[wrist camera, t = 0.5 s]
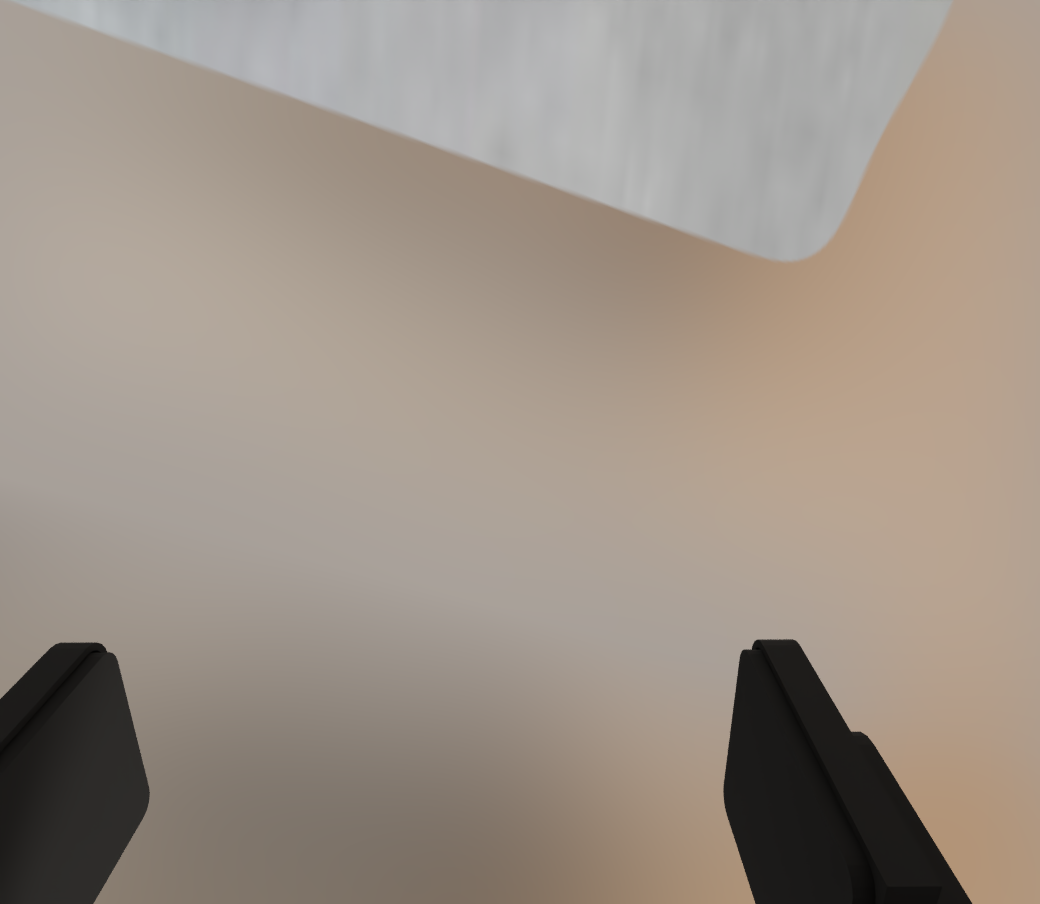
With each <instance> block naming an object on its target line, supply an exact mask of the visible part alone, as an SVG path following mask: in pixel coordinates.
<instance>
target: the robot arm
mask: <svg viewBox="0 0 1040 904" xmlns="http://www.w3.org/2000/svg"><path fill="white" fill-rule="evenodd" d="M149 793H150V792H149V786H148V782H147V777H146V774H145V769H144V765H143V762H142V757H141V753H140V750H139V745H138V741H137V738H136V733H135V729H134V725H133V721H132V717H131V713H130V709H129V705H128V701H127V697H126V693H125V689H124V685H123V681H122V677H121V673H120V669H119V664H118V661H117V658H116V656H115V655H114V654H113V653H110V652H107V651H106V648H105V647H104V646H103V645H102V644H100V643H59V644H55V645H54V646H53V647H51V648H50V649H49V650H48V651H47V652H46V653H45V654H44V655H43V656H42V657H41V658H40V659H39V660H38V661H37V662H36V663H35V664H34V665H33V666H32V668H30V670H28V671H27V673H26V674H25V675H24V676H23V677H22V678H21V679H20V680H19V681H18V682H17V683H16V684H15V685H14V686H13V687H12V688H11V689H10V690H9V691H8V692H7V693H6V694H5V695H4V696H3V697H2V698H1V699H0V904H93V903H94V902H95V900H96V898H97V896H98V895H99V893H100V891H101V890H102V888H103V886H104V884H105V883H106V881H107V879H108V877H109V875H110V874H111V872H112V871H113V869H114V867H115V865H116V864H117V862H118V860H119V859H120V857H121V855H122V853H123V852H124V850H125V848H126V846H127V845H128V843H129V841H130V840H131V838H132V836H133V834H134V833H135V831H136V829H137V828H138V826H139V824H140V822H141V821H142V819H143V817H144V815H145V813H146V810H147V807H148V803H149ZM724 803H725V809H726V813H727V816H728V820H729V822H730V826H731V829H732V832H733V835H734V838H735V841H736V844H737V847H738V851H739V854H740V857H741V860H742V863H743V866H744V869H745V872H746V875H747V878H748V881H749V884H750V888H751V891H752V894H753V897H754V900H755V903H756V904H972V902H971V901H970V899H969V898H968V896H967V895H966V893H965V891H964V890H963V888H962V886H961V885H960V883H959V881H958V880H957V878H956V877H955V875H954V873H953V872H952V870H951V868H950V867H949V865H948V864H947V862H946V860H945V859H944V857H943V856H942V854H941V852H940V851H939V849H938V848H937V846H936V844H935V843H934V841H933V839H932V838H931V836H930V834H929V833H928V831H927V830H926V828H925V826H924V825H923V823H922V822H921V820H920V818H919V817H918V815H917V813H916V812H915V810H914V809H913V807H912V805H911V804H910V802H909V801H908V799H907V797H906V796H905V794H904V792H903V791H902V789H901V788H900V786H899V784H898V783H897V781H896V779H895V778H894V776H893V775H892V773H891V771H890V770H889V768H888V766H887V765H886V763H885V762H884V760H883V758H882V757H881V755H880V754H879V752H878V750H877V749H876V747H875V746H874V744H873V743H872V742H871V740H870V739H869V738H868V736H866V735H865V734H863V733H862V732H851V731H850V730H849V728H848V726H847V724H846V723H845V721H844V719H843V718H842V716H841V714H840V713H839V711H838V709H837V708H836V706H835V704H834V702H833V701H832V699H831V697H830V696H829V694H828V692H827V691H826V689H825V687H824V686H823V684H822V682H821V681H820V679H819V677H818V675H817V674H816V672H815V670H814V669H813V667H812V665H811V663H810V662H809V660H808V658H807V657H806V655H805V653H804V652H803V650H802V648H801V646H800V645H799V644H798V642H797V641H795V640H756V641H755V642H754V644H753V646H752V650H743V651H742V653H741V655H740V661H739V668H738V676H737V684H736V693H735V700H734V708H733V716H732V724H731V732H730V740H729V748H728V756H727V763H726V772H725V780H724Z"/></svg>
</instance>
